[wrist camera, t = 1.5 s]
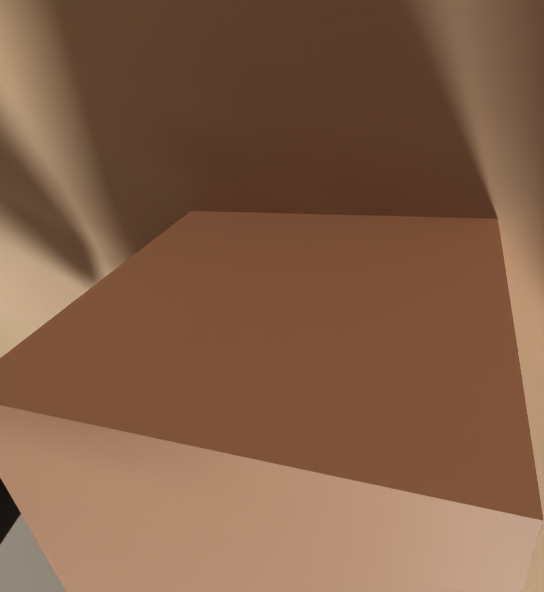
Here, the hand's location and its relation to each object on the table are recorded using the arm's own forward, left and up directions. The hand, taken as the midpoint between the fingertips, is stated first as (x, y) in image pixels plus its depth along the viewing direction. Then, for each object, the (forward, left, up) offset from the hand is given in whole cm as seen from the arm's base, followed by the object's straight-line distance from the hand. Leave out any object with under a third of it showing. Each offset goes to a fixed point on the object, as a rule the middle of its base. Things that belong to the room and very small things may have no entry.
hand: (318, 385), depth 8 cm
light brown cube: (0, 0, -1) cm, 1 cm away
